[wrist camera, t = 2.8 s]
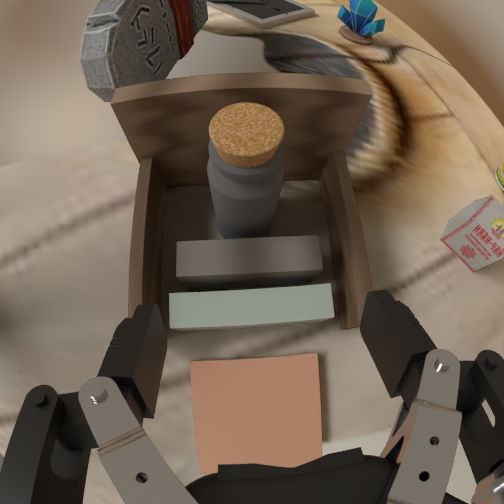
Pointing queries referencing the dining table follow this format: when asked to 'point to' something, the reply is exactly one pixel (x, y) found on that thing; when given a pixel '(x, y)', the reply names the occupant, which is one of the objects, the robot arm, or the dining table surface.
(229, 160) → the bottle
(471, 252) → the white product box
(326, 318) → the sage offcut
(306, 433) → the terracotta pad
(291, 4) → the picture frame
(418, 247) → the dining table surface
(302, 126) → the walnut rack
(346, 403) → the dining table surface
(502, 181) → the supplement bottle
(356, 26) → the gemstone
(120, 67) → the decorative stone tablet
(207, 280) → the charcoal offcut
